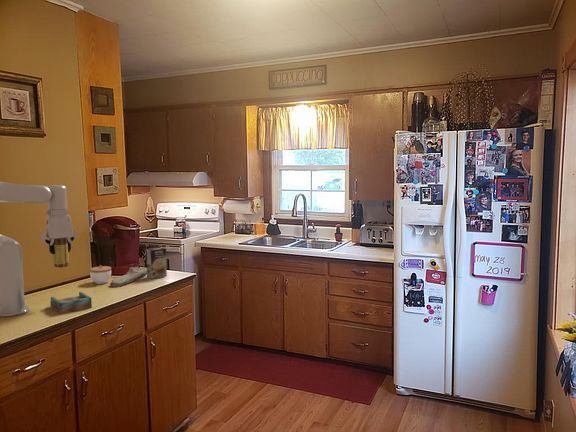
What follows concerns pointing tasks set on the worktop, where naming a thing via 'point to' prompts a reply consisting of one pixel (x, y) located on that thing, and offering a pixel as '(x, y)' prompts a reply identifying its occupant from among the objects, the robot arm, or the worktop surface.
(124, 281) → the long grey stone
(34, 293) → the worktop surface
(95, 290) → the worktop surface
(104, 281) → the lidded jar
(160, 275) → the coffee box
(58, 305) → the dock
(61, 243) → the sauce bottle
